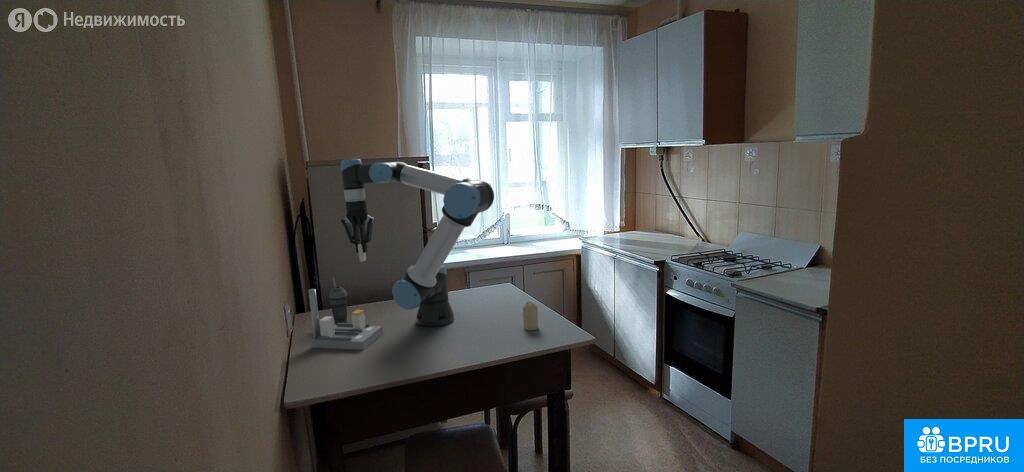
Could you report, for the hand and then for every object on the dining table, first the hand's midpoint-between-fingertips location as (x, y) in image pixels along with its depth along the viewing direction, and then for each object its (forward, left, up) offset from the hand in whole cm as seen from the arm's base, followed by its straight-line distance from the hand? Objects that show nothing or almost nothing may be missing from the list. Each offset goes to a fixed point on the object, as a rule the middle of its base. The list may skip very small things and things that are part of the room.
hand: (363, 260), depth 185 cm
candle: (-64, -4, -27) cm, 70 cm away
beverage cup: (+14, -2, -27) cm, 30 cm away
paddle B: (+7, +18, -24) cm, 31 cm away
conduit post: (+10, +20, -24) cm, 32 cm away
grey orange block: (-1, +10, -24) cm, 26 cm away
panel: (+1, +14, -27) cm, 30 cm away
